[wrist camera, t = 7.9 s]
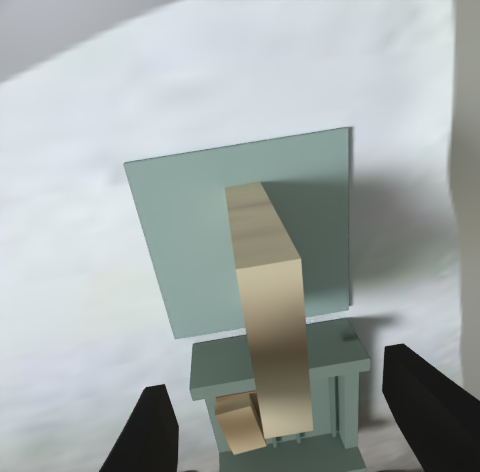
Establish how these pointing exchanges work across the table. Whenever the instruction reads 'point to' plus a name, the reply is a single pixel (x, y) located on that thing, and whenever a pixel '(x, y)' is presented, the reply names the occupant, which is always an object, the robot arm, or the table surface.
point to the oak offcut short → (240, 424)
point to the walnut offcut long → (254, 400)
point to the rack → (322, 399)
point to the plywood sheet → (271, 310)
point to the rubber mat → (218, 229)
